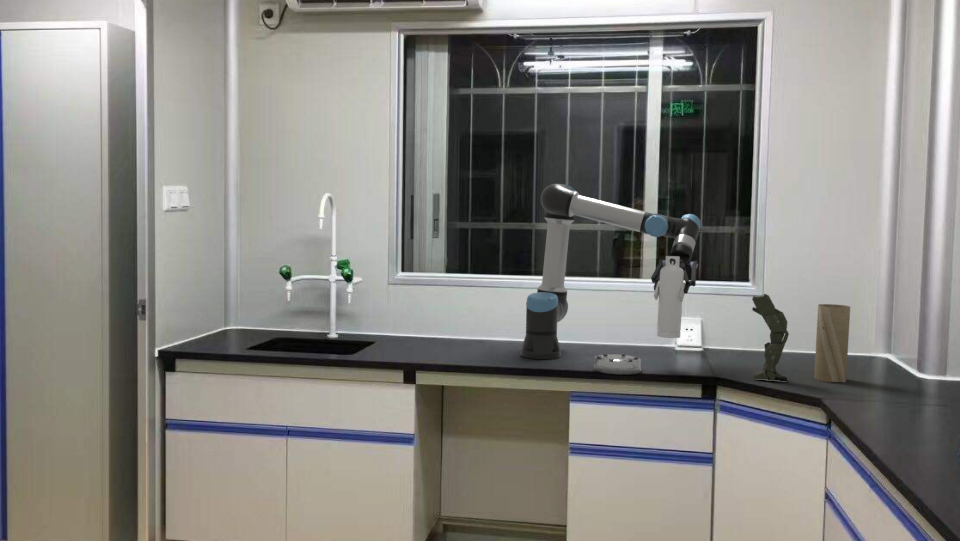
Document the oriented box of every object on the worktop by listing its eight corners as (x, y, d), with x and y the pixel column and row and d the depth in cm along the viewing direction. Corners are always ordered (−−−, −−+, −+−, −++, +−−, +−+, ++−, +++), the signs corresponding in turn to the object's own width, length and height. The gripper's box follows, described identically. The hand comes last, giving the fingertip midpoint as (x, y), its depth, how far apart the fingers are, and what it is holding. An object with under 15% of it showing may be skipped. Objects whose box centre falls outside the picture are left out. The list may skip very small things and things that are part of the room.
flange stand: (598, 374, 282) (598, 360, 282) (590, 365, 298) (590, 351, 298) (645, 374, 283) (645, 360, 283) (634, 365, 299) (635, 352, 299)
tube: (843, 384, 275) (847, 308, 273) (811, 380, 280) (815, 306, 278) (848, 379, 283) (852, 305, 282) (817, 375, 289) (821, 303, 287)
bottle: (682, 335, 295) (686, 256, 293) (677, 339, 288) (682, 257, 285) (659, 333, 298) (663, 255, 296) (654, 336, 291) (658, 256, 289)
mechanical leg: (799, 377, 279) (780, 289, 279) (799, 382, 272) (780, 291, 272) (756, 383, 284) (738, 297, 284) (756, 388, 277) (737, 299, 277)
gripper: (712, 259, 299) (699, 307, 287) (655, 255, 309) (640, 302, 296) (710, 244, 294) (696, 293, 281) (652, 241, 304) (636, 288, 291)
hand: (668, 298), depth 289 cm, fingers closed on bottle, 8 cm apart
